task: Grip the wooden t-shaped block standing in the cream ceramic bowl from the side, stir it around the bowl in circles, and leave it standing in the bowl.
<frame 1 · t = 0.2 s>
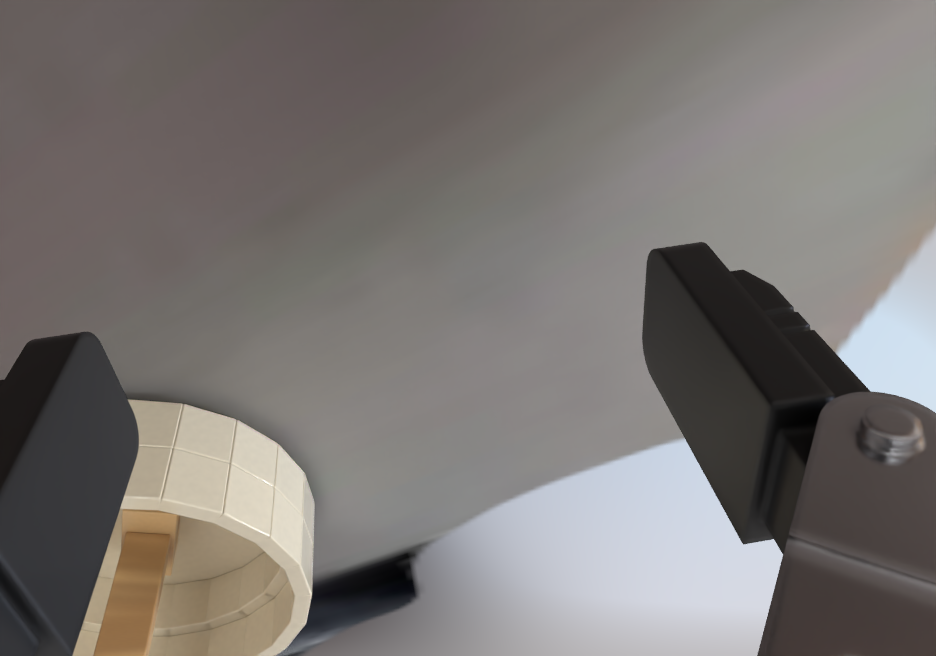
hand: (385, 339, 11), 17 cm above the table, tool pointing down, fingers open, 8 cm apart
wooden t-shaped block: (155, 511, 37), point 1 cm above the table, touching bowl
bowl: (157, 502, 38), on the table
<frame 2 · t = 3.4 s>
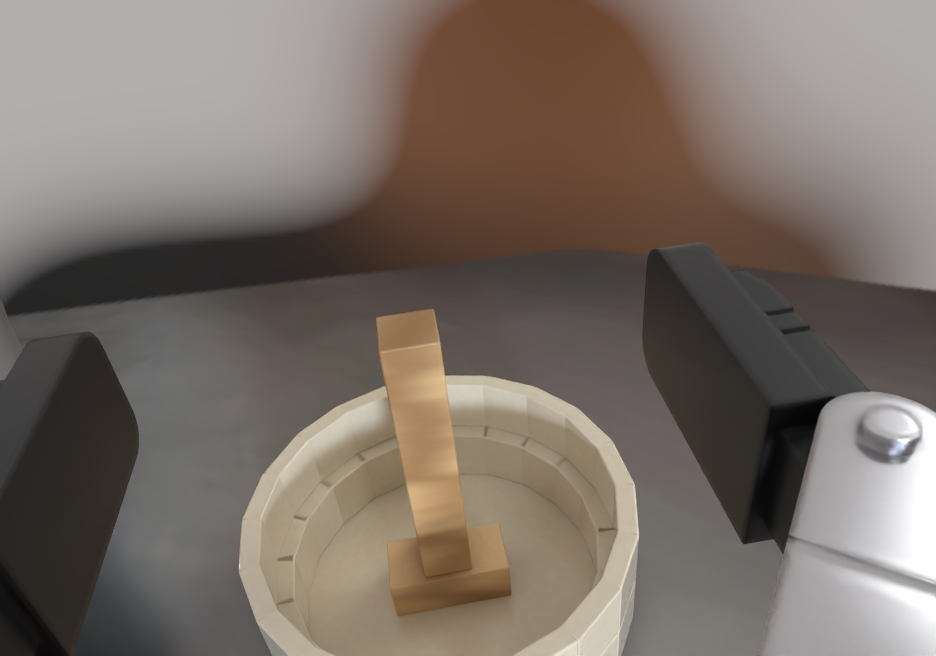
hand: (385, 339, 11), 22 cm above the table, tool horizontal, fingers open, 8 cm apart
wooden t-shaped block: (451, 582, 32), point 1 cm above the table, touching bowl
bowl: (452, 590, 33), on the table
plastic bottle: (47, 512, 39), on the table
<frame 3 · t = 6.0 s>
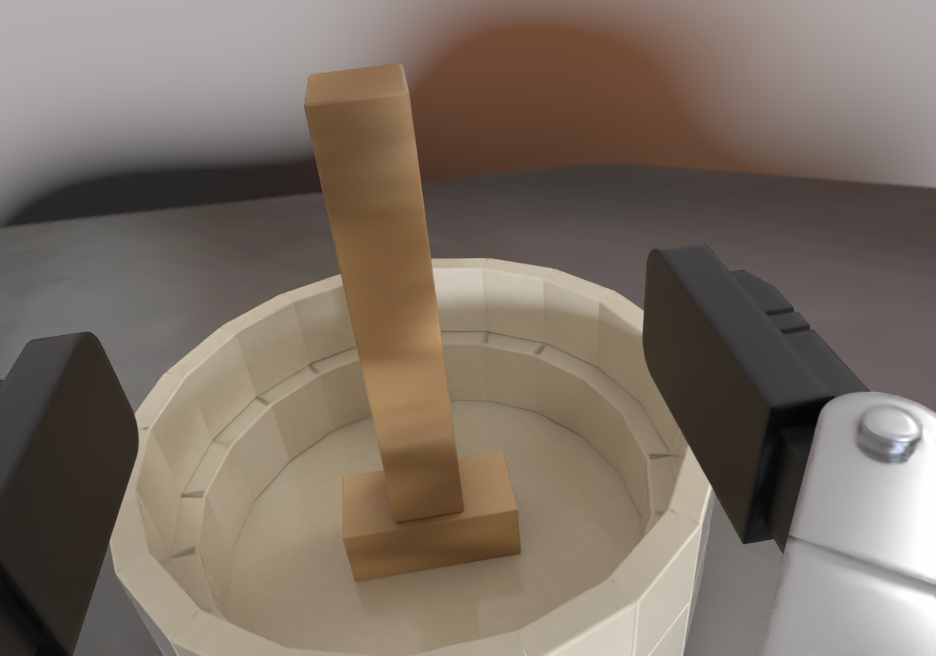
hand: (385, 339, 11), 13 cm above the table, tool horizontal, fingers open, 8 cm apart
wooden t-shaped block: (434, 536, 23), point 1 cm above the table, touching bowl
bowl: (436, 548, 23), on the table
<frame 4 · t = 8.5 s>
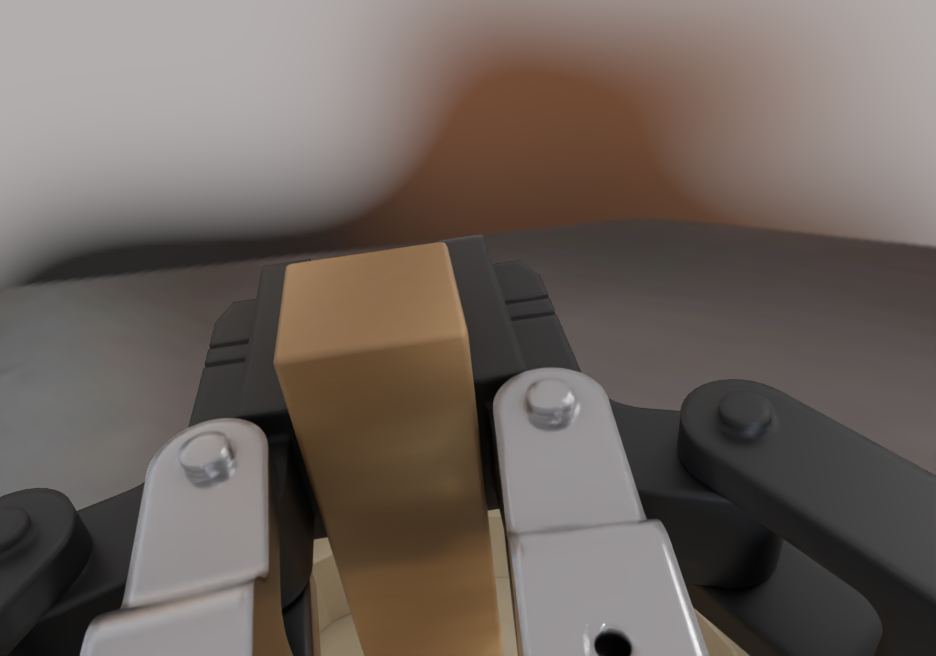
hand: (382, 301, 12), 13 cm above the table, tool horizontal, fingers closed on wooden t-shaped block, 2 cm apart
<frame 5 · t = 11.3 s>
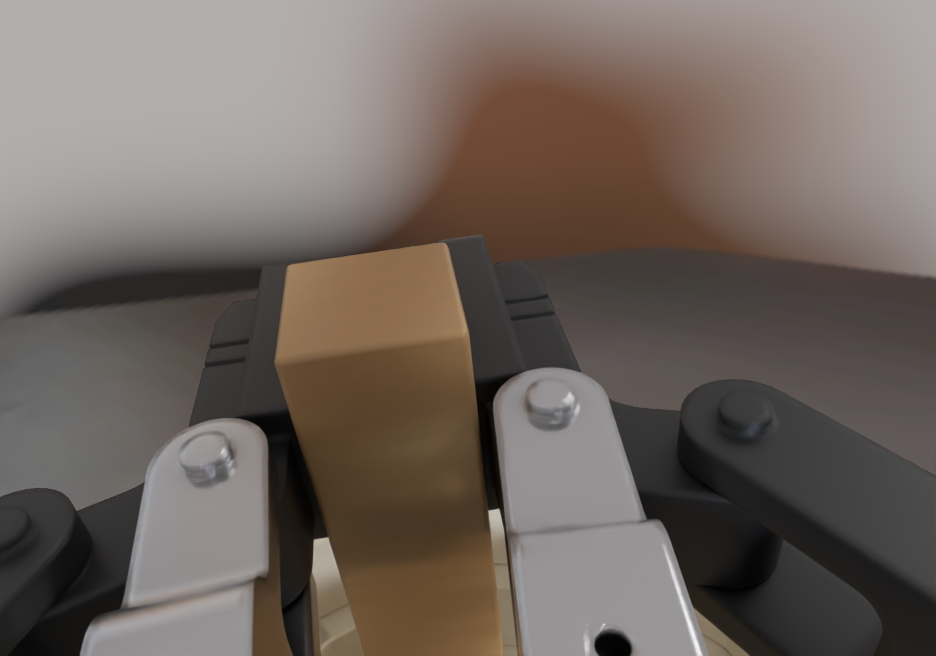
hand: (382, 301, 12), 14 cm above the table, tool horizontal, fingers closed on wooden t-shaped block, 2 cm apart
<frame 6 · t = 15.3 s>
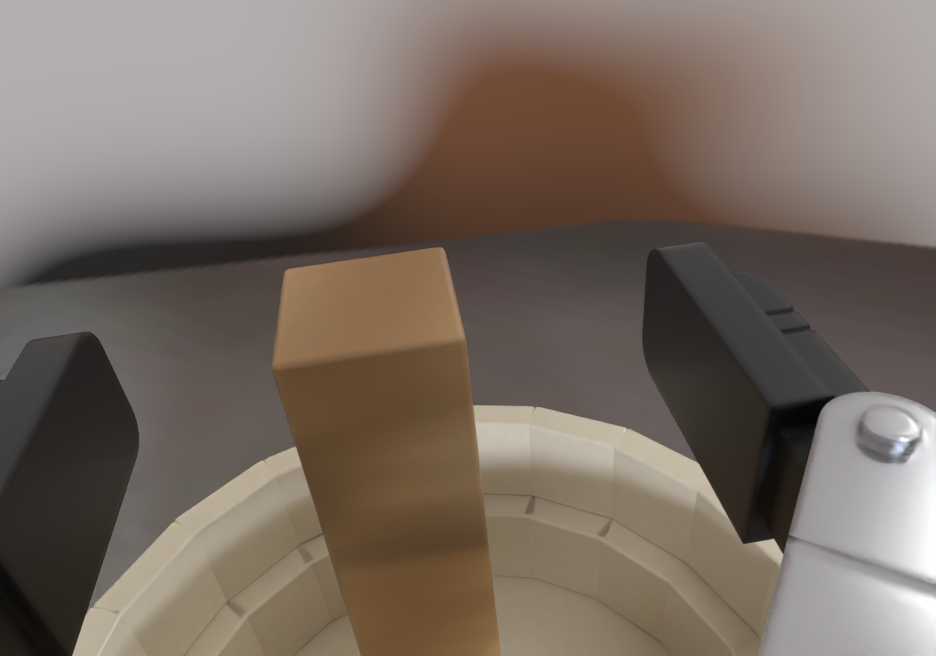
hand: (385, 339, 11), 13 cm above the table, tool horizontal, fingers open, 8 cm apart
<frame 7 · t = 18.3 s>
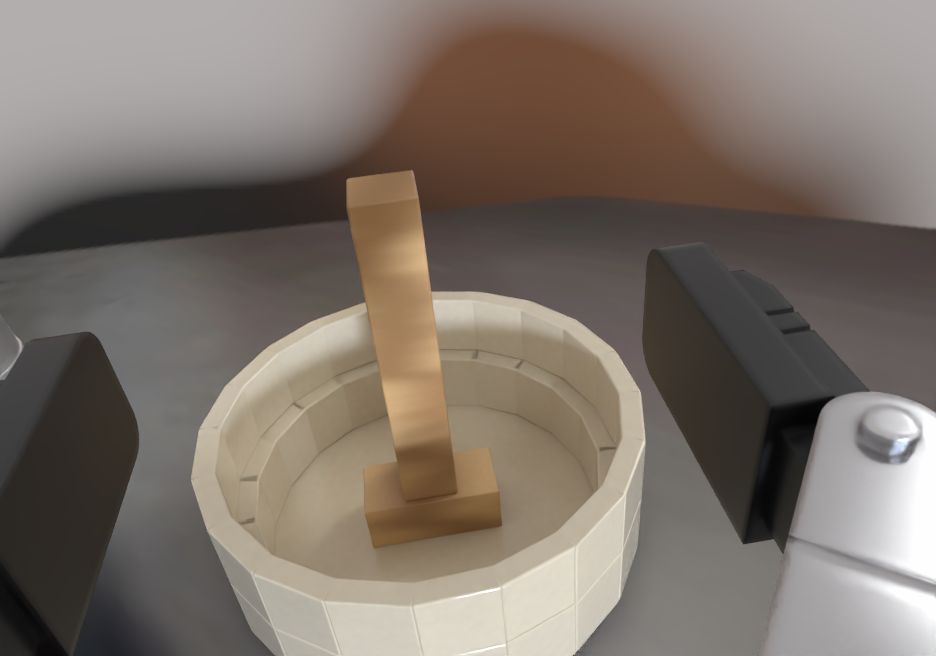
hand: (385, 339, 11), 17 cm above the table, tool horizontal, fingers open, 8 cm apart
wooden t-shaped block: (434, 513, 29), point 1 cm above the table, touching bowl
bowl: (436, 521, 29), on the table
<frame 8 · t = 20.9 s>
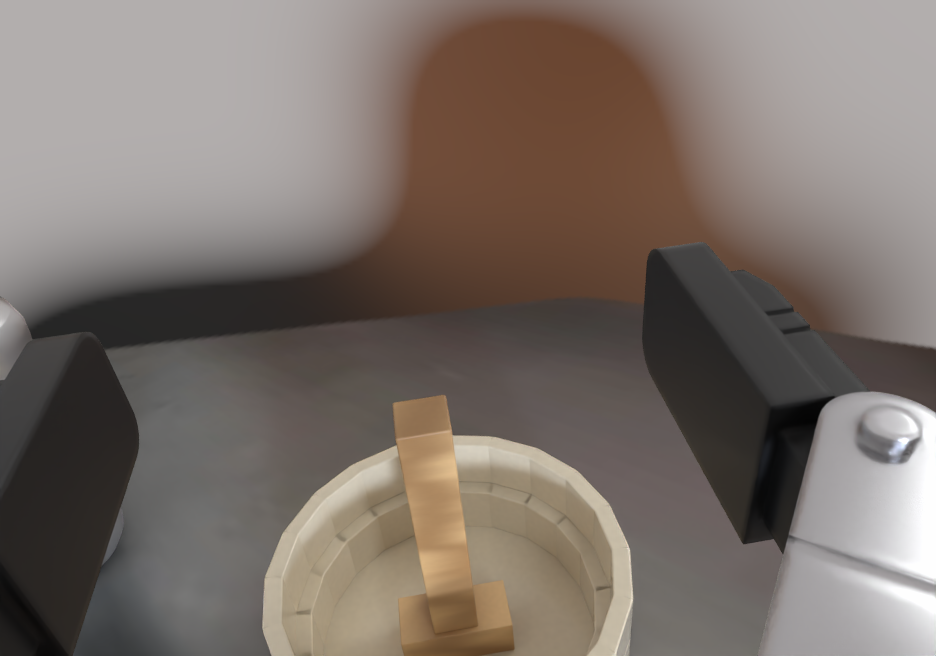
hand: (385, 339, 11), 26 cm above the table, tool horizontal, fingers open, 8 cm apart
wooden t-shaped block: (457, 635, 35), point 1 cm above the table, touching bowl
bowl: (459, 641, 35), on the table
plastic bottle: (76, 558, 41), on the table
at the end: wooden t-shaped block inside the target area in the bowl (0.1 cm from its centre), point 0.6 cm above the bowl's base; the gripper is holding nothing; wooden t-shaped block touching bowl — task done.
